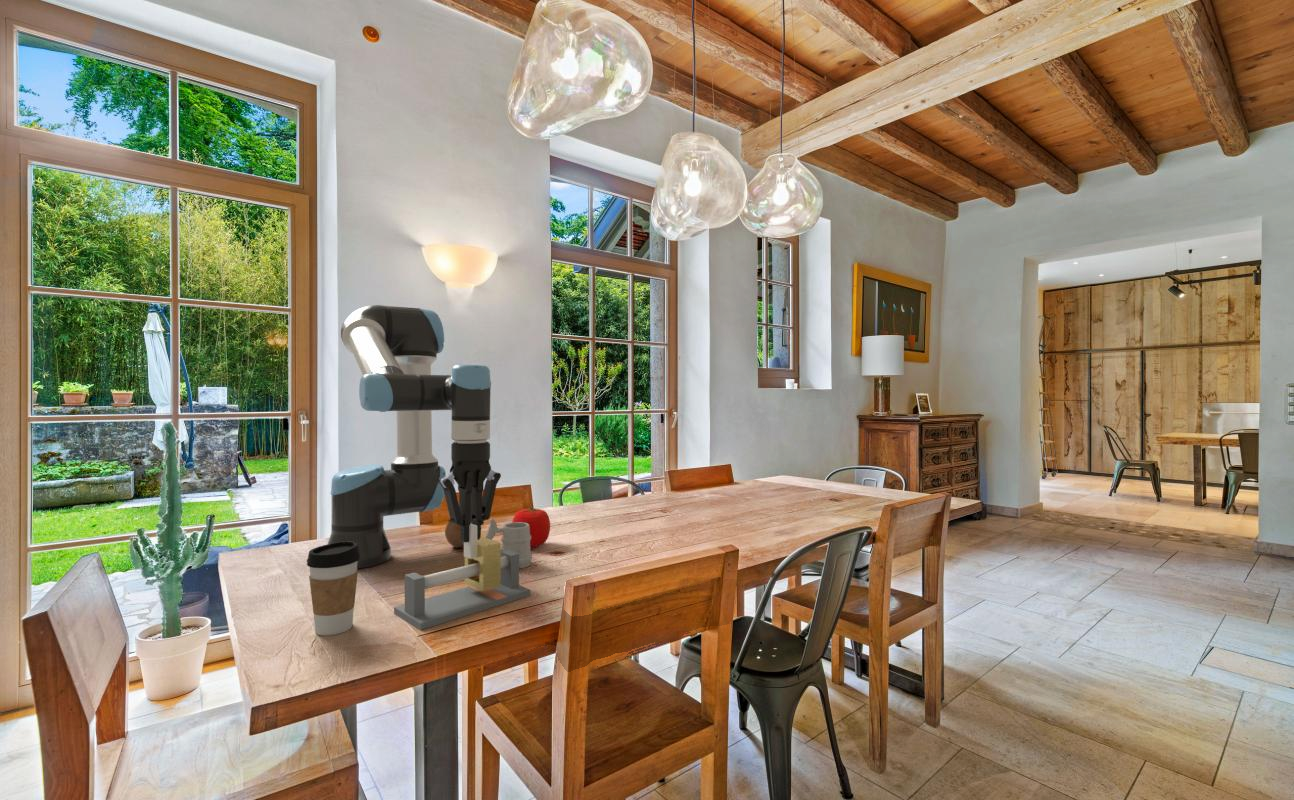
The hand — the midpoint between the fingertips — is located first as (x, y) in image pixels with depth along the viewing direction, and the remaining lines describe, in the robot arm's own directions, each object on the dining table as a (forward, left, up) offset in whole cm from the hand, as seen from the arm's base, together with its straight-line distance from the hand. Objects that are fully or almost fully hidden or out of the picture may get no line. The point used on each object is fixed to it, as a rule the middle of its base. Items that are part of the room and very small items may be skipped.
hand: (470, 556), depth 116 cm
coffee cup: (-6, -24, -10) cm, 26 cm away
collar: (0, +3, -7) cm, 7 cm away
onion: (-38, +20, -10) cm, 44 cm away
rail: (0, -1, -9) cm, 9 cm away
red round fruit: (-25, +33, -10) cm, 42 cm away
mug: (-15, +19, -10) cm, 26 cm away
